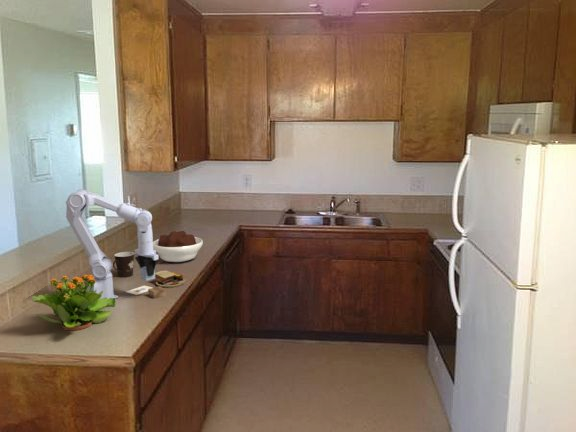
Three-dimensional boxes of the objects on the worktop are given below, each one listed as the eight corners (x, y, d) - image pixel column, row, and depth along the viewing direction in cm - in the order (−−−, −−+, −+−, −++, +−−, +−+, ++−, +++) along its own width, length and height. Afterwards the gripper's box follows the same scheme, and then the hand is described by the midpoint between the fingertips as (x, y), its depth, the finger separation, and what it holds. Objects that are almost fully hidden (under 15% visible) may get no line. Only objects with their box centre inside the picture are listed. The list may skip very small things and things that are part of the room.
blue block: (146, 280, 209) (145, 269, 209) (141, 278, 212) (140, 267, 211) (155, 278, 212) (154, 267, 211) (149, 276, 215) (149, 265, 214)
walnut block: (154, 299, 210) (153, 292, 210) (148, 296, 214) (148, 289, 214) (165, 296, 214) (165, 289, 213) (159, 293, 217) (159, 286, 217)
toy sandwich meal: (166, 290, 221) (166, 279, 220) (148, 284, 230) (147, 273, 229) (190, 283, 230) (190, 273, 229) (172, 277, 239) (171, 267, 238)
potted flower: (100, 339, 172) (96, 288, 168) (24, 342, 170) (19, 290, 167) (118, 312, 196) (115, 266, 193) (52, 314, 194) (48, 268, 191)
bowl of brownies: (166, 252, 282) (164, 224, 279) (210, 254, 277) (209, 226, 274) (144, 265, 258) (142, 235, 255) (192, 267, 253) (191, 237, 250)
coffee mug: (129, 271, 248) (128, 250, 246) (138, 275, 242) (137, 254, 240) (106, 276, 240) (104, 255, 238) (115, 280, 234) (113, 259, 232)
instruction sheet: (136, 295, 215) (136, 294, 215) (125, 292, 219) (125, 291, 218) (155, 288, 223) (155, 288, 223) (144, 285, 227) (144, 285, 227)
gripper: (164, 242, 207) (166, 275, 210) (144, 237, 217) (146, 268, 220) (148, 245, 202) (150, 279, 205) (129, 240, 212) (131, 272, 215)
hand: (147, 274), depth 212 cm, fingers closed on blue block, 4 cm apart
